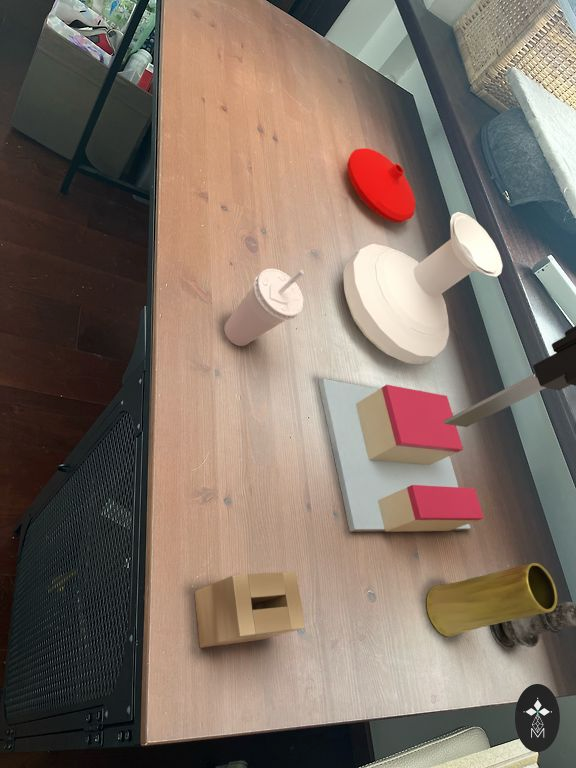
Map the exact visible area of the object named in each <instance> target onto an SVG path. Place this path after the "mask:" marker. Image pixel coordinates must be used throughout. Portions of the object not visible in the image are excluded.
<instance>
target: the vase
mask: <svg viewBox="0 0 576 768" xmlns="http://www.w3.org/2000/svg"><path fill="white" fill-rule="evenodd" d="M557 604H558V592H557V587H556V585H555V582H554V580H553V578H552V576H551V574H550V573H549V571H548V570H547V569H546V567H544V566H543V565H542V564H540V563H537V562H531V563H528V564H523V565H519V566H515V567H511V568H507V569H504V570H500V571H496V572H492V573H488V574H485V575H481V576H475V577H472V578H471V577H470V578H467V579H464V580H460V581H456V582H451V583H446V584H436V585H433V586H432V587H431V588H430V589H429V591H428V593H427V596H426V611H427V615H428V618H429V620H430V622H431V624H432V625H433V627H434V628H435V629H436V631H437V632H438V633H440V634H441V635H443V636H444V637H449V638H450V637H454V636H457V635H459V634H461V633H464V632H468V631H474V630H476V629H481V628H486V627H488V626H489V627H490V625H493V624H498V623H502V622H506V621H511V620H516V619H520V618H525V617H530V616H534V615H537V614H542V613H547V612H552V611H553V610H554V609H555V607H556V605H557Z"/></svg>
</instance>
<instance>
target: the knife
mask: <svg viewBox="0 0 576 768" xmlns="http://www.w3.org/2000/svg"><path fill="white" fill-rule="evenodd" d="M532 368H533V371H534V373H533V374H531V375H529V376H527V377H525V378H524V379H521V380H519V381H518V382H515V383H514V384H512V385H510V386H508V387H506V388H504V389H502V390H500V391H498V392H496V393H495V394H493V395H491V396H489V397H487V398H485V399H483V400H481V401H478V402H477V403H475V404H473V405H470V406H469V407H468V408H465V409H464V410H462V411H459V412H458V413H456V414H453V416H452V417H450V418H448V419H446V420H444V424H449V425H456V427H463V428H468V427H470V426H472V425H473V424H476V423H477V422H480V421H482V420H484V419H486V418H487V417H490V416H492V415H494V414H496V413H498V412H500V411H502V410H504V409H507V408H508V407H510V406H512V405H514V404H517V403H518V402H520V401H523V400H524V399H527V398H528V397H531V396H532V395H534V394H537V393H538V392H540V391H543V390H545V389H551V390H555V391H561V390H563V389H565V388H568V387H569V386H572V385H571V384H567V383H566V380H565V378H564V376H565V373H566V372H568V371H570V370H572V369H574V368H576V343H575V344H573V345H571V346H569V347H567V348H565V349H563V350H561V351H559V352H558V353H557V352H554V353H553V354H551V355H550V356H547V357H545V358H544V359H542V360H540V361H538V362H536V363H535V364H533V365H532Z"/></svg>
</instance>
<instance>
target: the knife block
mask: <svg viewBox="0 0 576 768" xmlns="http://www.w3.org/2000/svg"><path fill="white" fill-rule="evenodd" d="M300 593H301V592H300V586H299V579H298V576H297V571H281V572H266V573H264V572H263V573H249V574H246V573H245V574H233V575H231V576H227V577H226V578H223V579H220V580H218V581H216V582H214V583H211V584H208V585H207V586H204V587H202V588H199V589H197V590H195V591H194V602H195V611H196V624H197V633H198V644H199V648H200V649H203V648H210V647H217V646H218V647H219V646H224V645H231V644H240V643H247V642H254V641H261V640H266V639H270V638H272V637H273V638H274V637H277V636H280V635H284V634H285V635H286V634H288V633H291V632H296V631H300V630H303V629H306V623H305V617H304V611H303V604H302V599H301V594H300Z"/></svg>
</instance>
